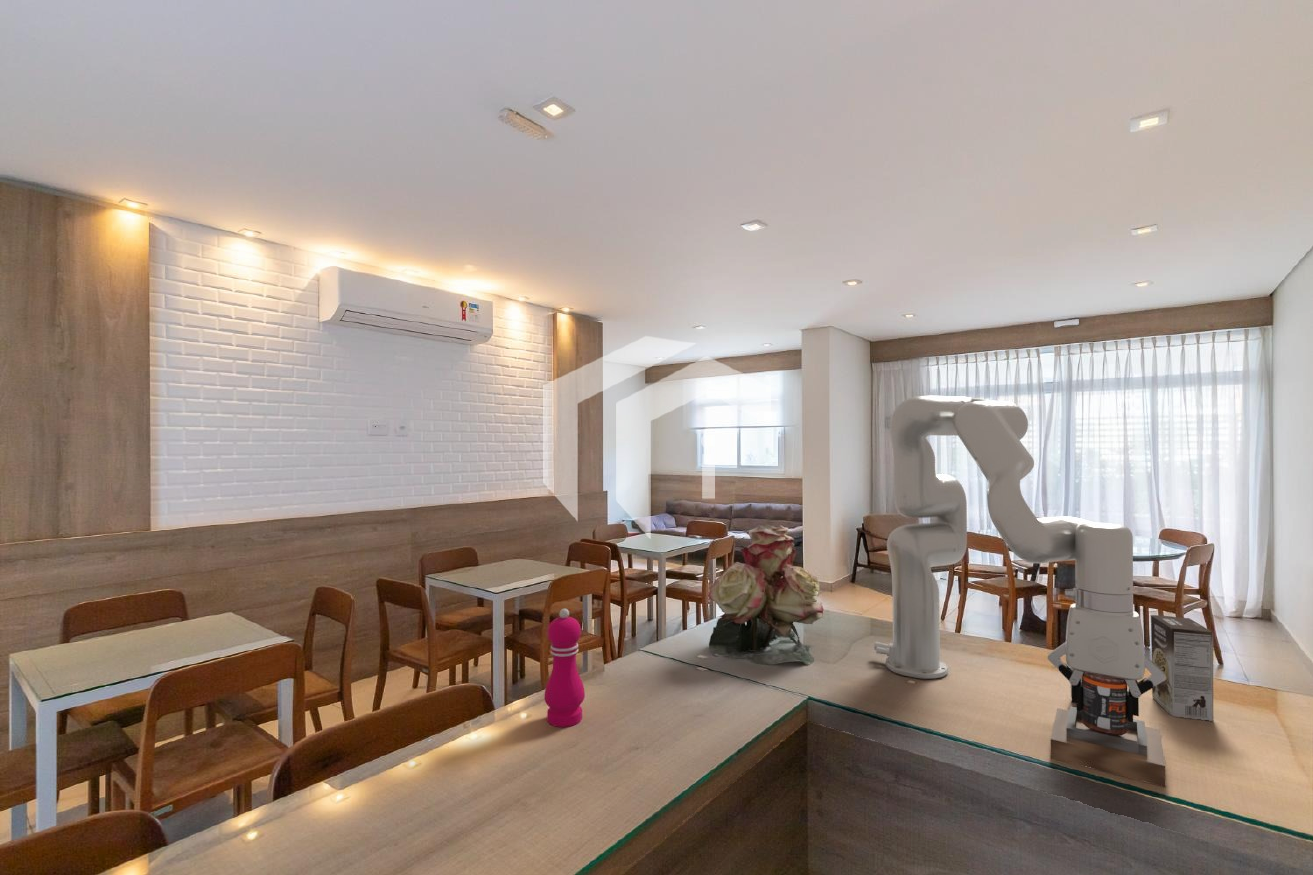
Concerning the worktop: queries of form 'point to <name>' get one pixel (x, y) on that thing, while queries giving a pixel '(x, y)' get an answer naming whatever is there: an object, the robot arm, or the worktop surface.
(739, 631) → the rose bouquet
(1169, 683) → the coffee box
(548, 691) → the pepper mill
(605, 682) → the worktop surface
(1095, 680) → the supplement bottle
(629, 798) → the worktop surface
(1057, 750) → the display pedestal
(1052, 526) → the robot arm
